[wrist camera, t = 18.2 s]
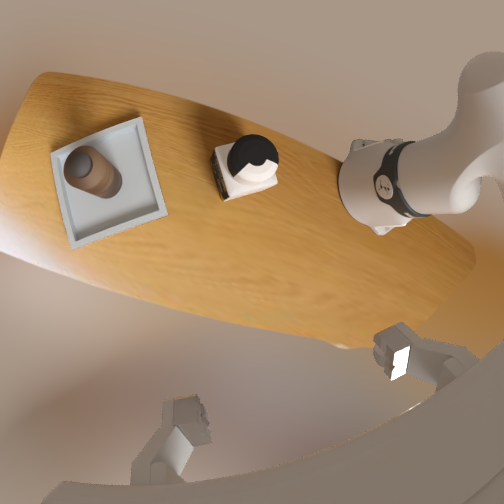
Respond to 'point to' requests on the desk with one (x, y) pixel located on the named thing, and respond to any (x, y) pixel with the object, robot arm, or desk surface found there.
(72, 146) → the pale dish
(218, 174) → the medicine bottle
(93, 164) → the walnut pepper mill
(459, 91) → the robot arm
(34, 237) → the desk surface
